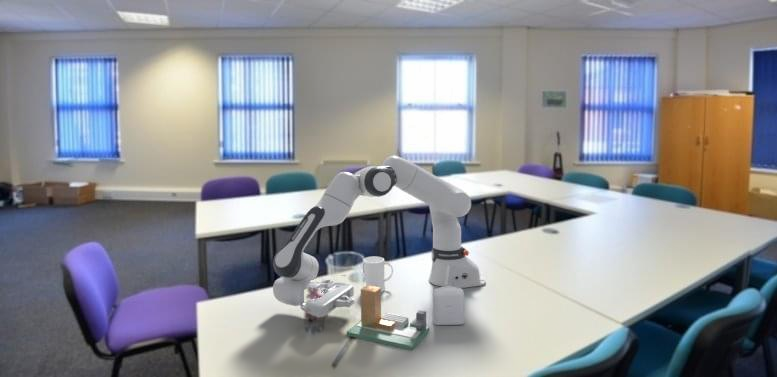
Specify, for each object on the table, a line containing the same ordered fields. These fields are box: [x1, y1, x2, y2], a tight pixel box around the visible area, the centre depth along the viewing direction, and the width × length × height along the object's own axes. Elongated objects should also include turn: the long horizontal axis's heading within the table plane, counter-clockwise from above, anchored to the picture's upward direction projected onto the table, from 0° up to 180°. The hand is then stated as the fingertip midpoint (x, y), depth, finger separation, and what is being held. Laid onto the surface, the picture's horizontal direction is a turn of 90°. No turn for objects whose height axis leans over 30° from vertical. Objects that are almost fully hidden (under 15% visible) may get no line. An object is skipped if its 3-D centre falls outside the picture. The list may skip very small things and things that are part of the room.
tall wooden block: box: [360, 285, 395, 331], centre depth 152 cm, size 10×4×12 cm, turn 65°
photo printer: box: [432, 286, 465, 326], centre depth 157 cm, size 10×4×12 cm, turn 90°
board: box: [346, 309, 430, 351], centre depth 151 cm, size 22×14×6 cm, turn 65°
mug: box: [362, 255, 394, 293], centre depth 187 cm, size 12×8×12 cm
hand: (352, 303), depth 156 cm, fingers closed
